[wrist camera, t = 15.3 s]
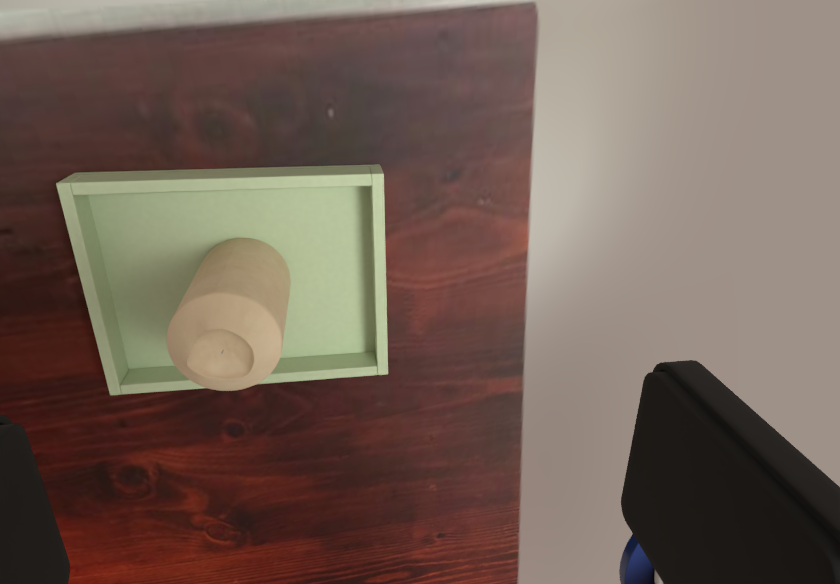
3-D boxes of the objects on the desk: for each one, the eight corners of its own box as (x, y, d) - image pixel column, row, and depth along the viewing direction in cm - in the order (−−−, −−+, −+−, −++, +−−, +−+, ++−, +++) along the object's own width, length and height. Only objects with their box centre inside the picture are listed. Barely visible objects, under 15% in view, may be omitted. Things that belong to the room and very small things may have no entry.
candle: (209, 321, 37) (172, 414, 28) (191, 240, 35) (145, 313, 26) (296, 312, 38) (287, 400, 29) (284, 232, 36) (271, 300, 27)
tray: (379, 163, 35) (383, 173, 33) (384, 354, 41) (388, 374, 39) (74, 172, 33) (55, 183, 31) (122, 373, 39) (109, 395, 36)
